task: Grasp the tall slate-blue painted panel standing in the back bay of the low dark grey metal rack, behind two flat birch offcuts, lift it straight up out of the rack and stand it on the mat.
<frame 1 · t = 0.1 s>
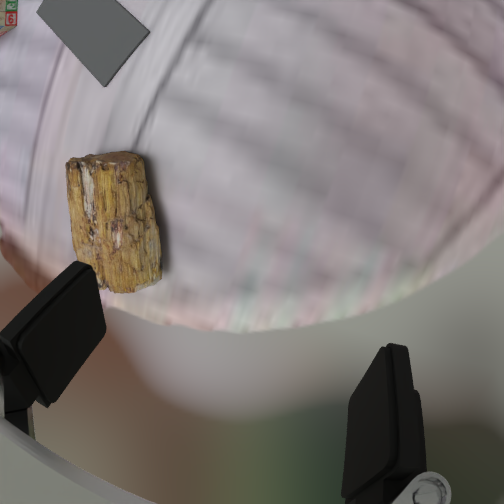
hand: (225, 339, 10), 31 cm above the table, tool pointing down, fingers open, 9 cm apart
mat: (85, 18, 32), on the table
petrified wood: (130, 207, 46), on the table
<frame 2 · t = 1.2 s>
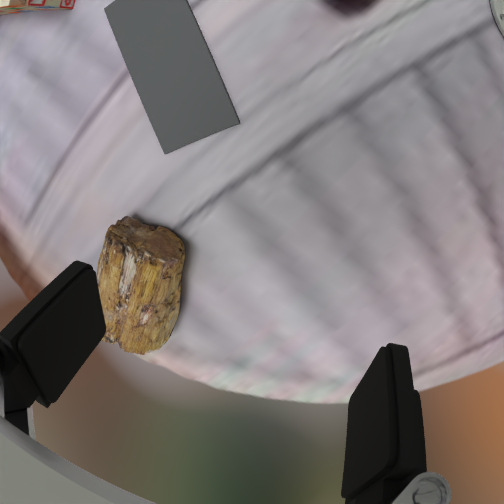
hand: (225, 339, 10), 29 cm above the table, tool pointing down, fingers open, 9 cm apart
mat: (166, 56, 31), on the table
petrified wood: (152, 271, 48), on the table
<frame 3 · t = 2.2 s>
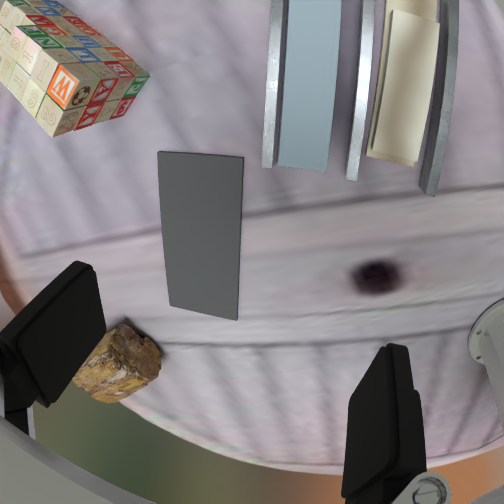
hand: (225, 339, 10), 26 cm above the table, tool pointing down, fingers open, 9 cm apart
mat: (200, 242, 40), on the table
rack: (352, 63, 26), on the table
petrified wood: (127, 349, 56), on the table
stack of blocks: (86, 51, 31), on the table
offcut lower: (401, 74, 26), on the table, touching offcut upper
panel: (320, 59, 27), on the table
offcut upper: (404, 84, 25), point 1 cm above the table, touching offcut lower
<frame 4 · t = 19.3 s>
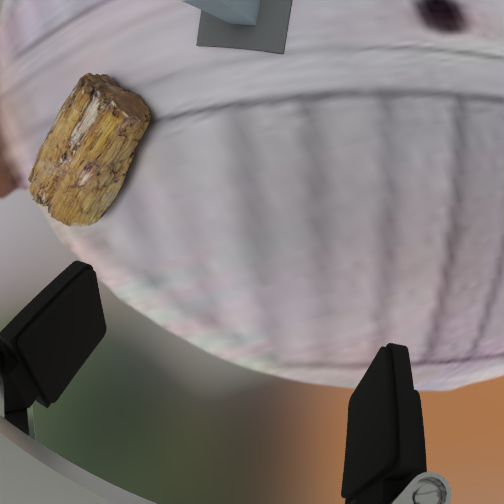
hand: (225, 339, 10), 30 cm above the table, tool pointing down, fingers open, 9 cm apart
petrified wood: (108, 143, 41), on the table
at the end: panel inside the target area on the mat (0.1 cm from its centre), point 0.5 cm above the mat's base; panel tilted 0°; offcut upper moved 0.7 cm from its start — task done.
